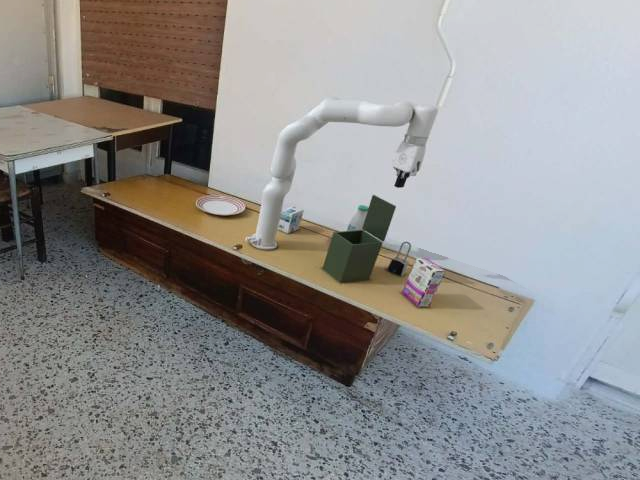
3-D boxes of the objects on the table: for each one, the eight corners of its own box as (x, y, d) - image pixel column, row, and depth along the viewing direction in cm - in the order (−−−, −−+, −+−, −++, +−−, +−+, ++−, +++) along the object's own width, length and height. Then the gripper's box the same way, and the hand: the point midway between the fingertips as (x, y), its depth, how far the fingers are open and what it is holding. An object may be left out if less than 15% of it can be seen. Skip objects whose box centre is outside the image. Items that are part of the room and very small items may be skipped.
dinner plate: (234, 223, 242) (235, 217, 240) (187, 211, 254) (188, 205, 252) (251, 207, 262) (252, 202, 260) (207, 197, 274) (207, 191, 272)
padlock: (385, 270, 204) (397, 240, 196) (390, 267, 206) (402, 237, 199) (400, 276, 200) (413, 246, 192) (405, 274, 202) (418, 243, 194)
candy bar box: (429, 307, 179) (446, 271, 171) (417, 307, 179) (434, 271, 170) (412, 292, 189) (427, 257, 180) (401, 292, 188) (415, 257, 180)
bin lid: (394, 206, 179) (396, 206, 179) (372, 195, 189) (374, 194, 189) (382, 241, 187) (384, 241, 187) (362, 228, 197) (363, 228, 197)
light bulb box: (287, 233, 233) (292, 214, 228) (276, 229, 238) (281, 210, 232) (299, 229, 239) (304, 209, 233) (288, 224, 243) (293, 205, 238)
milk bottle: (358, 242, 228) (371, 205, 217) (360, 249, 221) (373, 210, 211) (342, 240, 230) (354, 202, 219) (343, 246, 223) (355, 208, 213)
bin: (340, 282, 193) (352, 245, 184) (322, 268, 203) (333, 232, 194) (369, 279, 197) (383, 242, 187) (350, 265, 207) (362, 229, 197)
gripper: (392, 135, 178) (377, 181, 187) (422, 145, 165) (404, 193, 175) (409, 135, 179) (393, 180, 189) (439, 144, 167) (420, 192, 177)
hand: (398, 186), depth 182 cm, fingers closed
